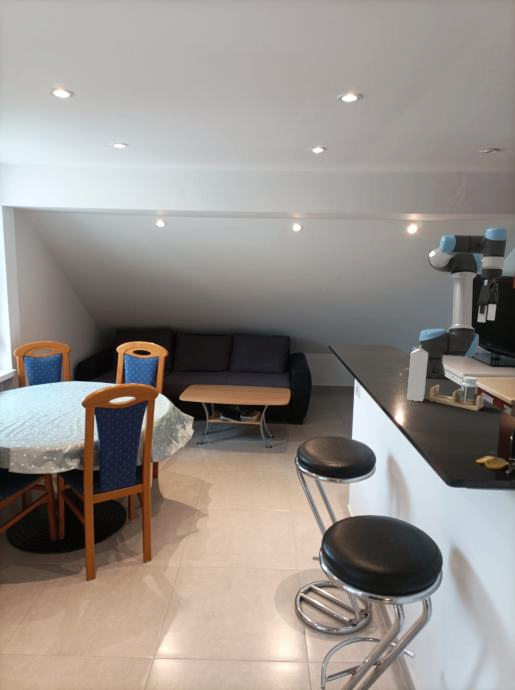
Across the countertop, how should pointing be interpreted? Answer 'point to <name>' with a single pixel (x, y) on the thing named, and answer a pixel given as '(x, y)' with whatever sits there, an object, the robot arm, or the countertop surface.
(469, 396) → the pill bottle
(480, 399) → the rack
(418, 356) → the milk
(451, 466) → the countertop surface
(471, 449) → the countertop surface
